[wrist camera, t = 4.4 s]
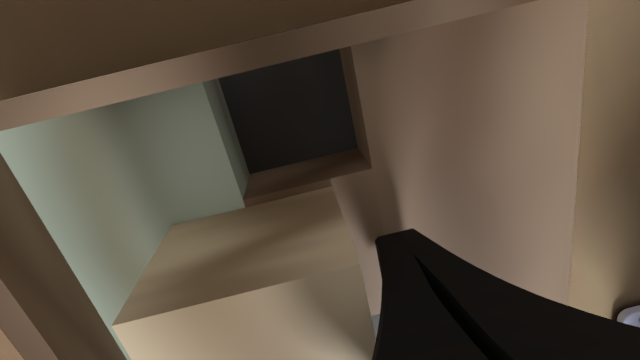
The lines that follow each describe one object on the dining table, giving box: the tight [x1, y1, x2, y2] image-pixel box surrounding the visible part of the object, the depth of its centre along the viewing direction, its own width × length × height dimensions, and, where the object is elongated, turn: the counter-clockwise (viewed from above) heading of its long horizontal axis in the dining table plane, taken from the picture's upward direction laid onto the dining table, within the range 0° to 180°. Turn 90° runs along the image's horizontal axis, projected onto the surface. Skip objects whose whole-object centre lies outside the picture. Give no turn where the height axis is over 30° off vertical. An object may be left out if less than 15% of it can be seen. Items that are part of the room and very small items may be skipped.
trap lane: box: [0, 0, 589, 360], centre depth 12 cm, size 17×14×4 cm
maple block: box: [111, 186, 376, 360], centre depth 10 cm, size 5×5×4 cm
